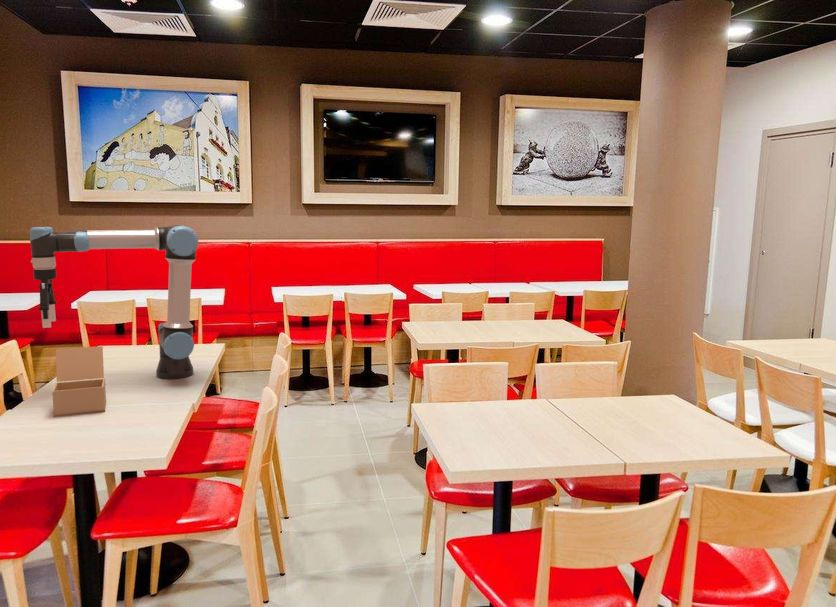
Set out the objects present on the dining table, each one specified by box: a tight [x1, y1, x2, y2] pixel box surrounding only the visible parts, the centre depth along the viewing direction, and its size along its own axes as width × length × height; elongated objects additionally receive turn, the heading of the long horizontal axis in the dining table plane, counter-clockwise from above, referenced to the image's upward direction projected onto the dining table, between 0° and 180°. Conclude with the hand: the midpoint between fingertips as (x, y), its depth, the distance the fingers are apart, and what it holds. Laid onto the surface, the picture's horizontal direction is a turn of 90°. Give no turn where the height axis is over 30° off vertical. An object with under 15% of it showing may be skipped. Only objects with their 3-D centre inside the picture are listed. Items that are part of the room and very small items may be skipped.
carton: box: [51, 378, 107, 418], centre depth 238 cm, size 16×12×9 cm
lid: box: [55, 345, 105, 383], centre depth 244 cm, size 15×12×1 cm
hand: (49, 324), depth 253 cm, fingers open, 13 cm apart
